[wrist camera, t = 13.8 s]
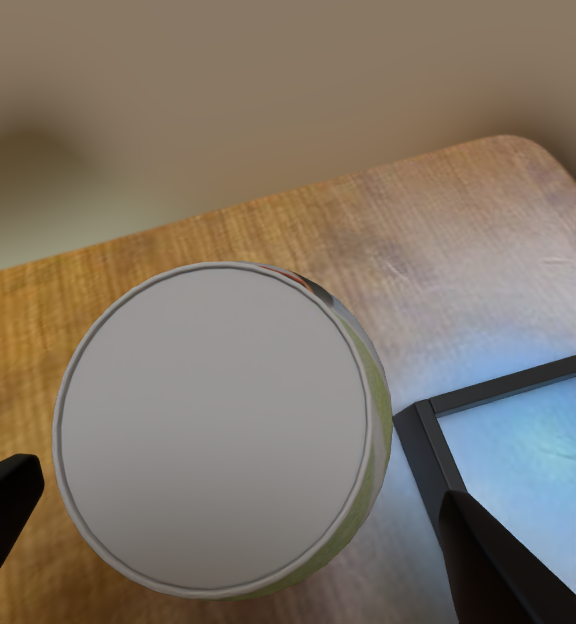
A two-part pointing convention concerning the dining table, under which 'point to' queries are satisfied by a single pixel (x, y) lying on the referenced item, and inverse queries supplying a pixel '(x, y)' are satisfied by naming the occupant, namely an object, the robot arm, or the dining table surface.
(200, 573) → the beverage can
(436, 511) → the square frame
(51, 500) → the dining table surface
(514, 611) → the robot arm
